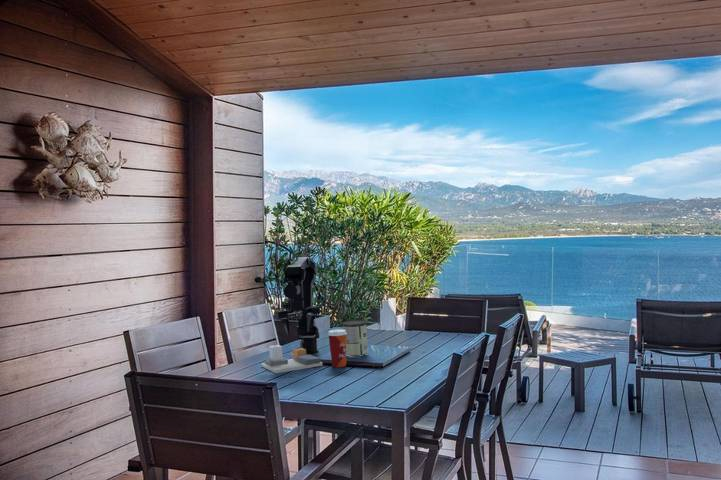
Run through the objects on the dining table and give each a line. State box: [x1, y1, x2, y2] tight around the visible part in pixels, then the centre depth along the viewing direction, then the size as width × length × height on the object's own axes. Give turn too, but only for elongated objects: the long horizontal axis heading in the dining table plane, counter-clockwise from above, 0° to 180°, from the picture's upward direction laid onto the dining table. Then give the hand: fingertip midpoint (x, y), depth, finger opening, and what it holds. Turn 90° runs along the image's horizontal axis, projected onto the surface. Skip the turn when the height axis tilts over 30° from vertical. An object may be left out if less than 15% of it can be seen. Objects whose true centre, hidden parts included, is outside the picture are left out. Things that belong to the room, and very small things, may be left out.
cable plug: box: [290, 347, 307, 360], centre depth 284 cm, size 4×12×4 cm, turn 28°
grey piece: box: [296, 354, 321, 365], centre depth 273 cm, size 6×10×2 cm, turn 28°
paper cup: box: [327, 328, 347, 368], centre depth 269 cm, size 8×8×14 cm
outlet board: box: [261, 357, 324, 374], centre depth 273 cm, size 20×16×3 cm
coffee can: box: [341, 319, 369, 356], centre depth 288 cm, size 10×10×14 cm
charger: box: [268, 344, 284, 362], centre depth 274 cm, size 4×4×7 cm
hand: (298, 333), depth 281 cm, fingers open, 9 cm apart
